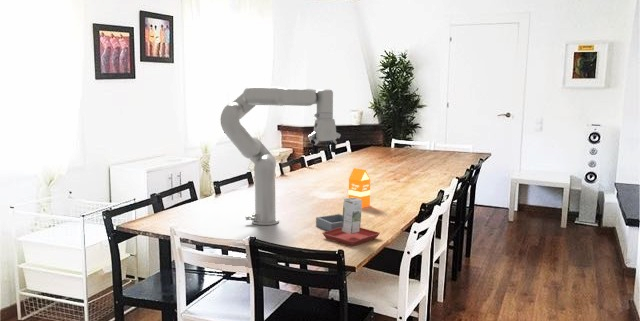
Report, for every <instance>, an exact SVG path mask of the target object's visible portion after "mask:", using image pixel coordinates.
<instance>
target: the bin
mask: <svg viewBox="0 0 640 321" xmlns="http://www.w3.org/2000/svg"><path fill="white" fill-rule="evenodd" d="M342 218H343V214H341V213H337V214H330V215H323V216H316V217H315V227H319V228H320V229H323V230H325V231H330V230H333V229H337V228H341V227H342Z"/></svg>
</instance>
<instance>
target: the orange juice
mask: <svg viewBox="0 0 640 321" xmlns="http://www.w3.org/2000/svg"><path fill="white" fill-rule="evenodd" d="M348 198H358V199H361V200H362V208H365V207H366V208H367V207H370V204H371V178H370V176H369V174H368V172H367V170H366V169H362V168H356V167H354V168H353V169H352V171H351V173H350V175H349V178H348Z"/></svg>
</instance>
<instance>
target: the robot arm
mask: <svg viewBox="0 0 640 321" xmlns="http://www.w3.org/2000/svg"><path fill="white" fill-rule="evenodd" d="M313 105H316V113H314V117H315V118H316V119H315V120H314V125H313V132H311V134H309V135H307V138H308V140H309V143H311V145H312V153H313V154H315V155H318V154H319V145H318V144H319V142H331V144H330V152H331V153H336V150H337V144H338V142H339V140H340V138H341V136H342V135H341V133H339V132H337V125H336V120H335V118H334V116H333V115H334V91H333V90H332V89H330V88H329V89H324V88H323V89H313V88H286V87H281V86H255V85H253V86H252V85H251V86H248V87H246V88H245V89H244V90H243V92H242V93H241V94H240V95H239V96H237V97H236V99H234V101H232V102H231V103H228V104H227V105H225V106H224V108H223V110H222V112H221V115H220V119H219V120H220V126H221V129H222V130H223V132H224V133H225V135H226V137H227V138H228V139H229V140H230V141H231V142H232V144H233V145H234V146H235V147H236V149H237V150H238V151H239V152H240V153H241V155H242V156H243V157H244V158H246V159H249V160H250V161H251V162H252V163H253V164H254V167H253V169H254V170H253V172H254V173H253V174H254V175H253V176H254V203H255V204H254V210H255V211H254V212H253V213H252V214H251V215H246V216H245V221H251V222H252V224H254V225H258V226H272V225H277V224H278V223H279V222H280V220H279V218H278V217H276V167H277V161H276V159H275V157H274V155H273V154H272V153H271V152H270V150H268V148H267V147H266V146H265V145H264V144H263V142H262V141H260V139H259V138H257V137H255V136H252V135H251V134H250V133H249V132H248V131H247V129H246V128H245V127H244V126H243V125H242V123H241V122H240V120H241V119H242V118H243V117H245V116H246V115H247V114H248V113H249V112H250V111H252V109H253V108H255V107H256V106H277V107H278V106H280V107H281V106H295V107H297V106H299V107H301V106H303V107H310V106H313Z"/></svg>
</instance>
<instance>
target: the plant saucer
mask: <svg viewBox="0 0 640 321" xmlns="http://www.w3.org/2000/svg"><path fill="white" fill-rule="evenodd" d="M321 234H322V235H323V237H325V238H326V239H327V240H329V241H335V242H337V243H340V244H344V245H348V246H352V247H353V246H357V245H360V244H364V243H366V242H370V241H373V240H376V239H377V237H378V236H380V234H381V232H378V231H374V230H370V229H368V228H363V227H360V232H358V233H354V234H349V233H346V232H343V231H342V227H341V228H337V229H333V230H330V231H327V230H325V231H324V232H323V231H322V233H321Z"/></svg>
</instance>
